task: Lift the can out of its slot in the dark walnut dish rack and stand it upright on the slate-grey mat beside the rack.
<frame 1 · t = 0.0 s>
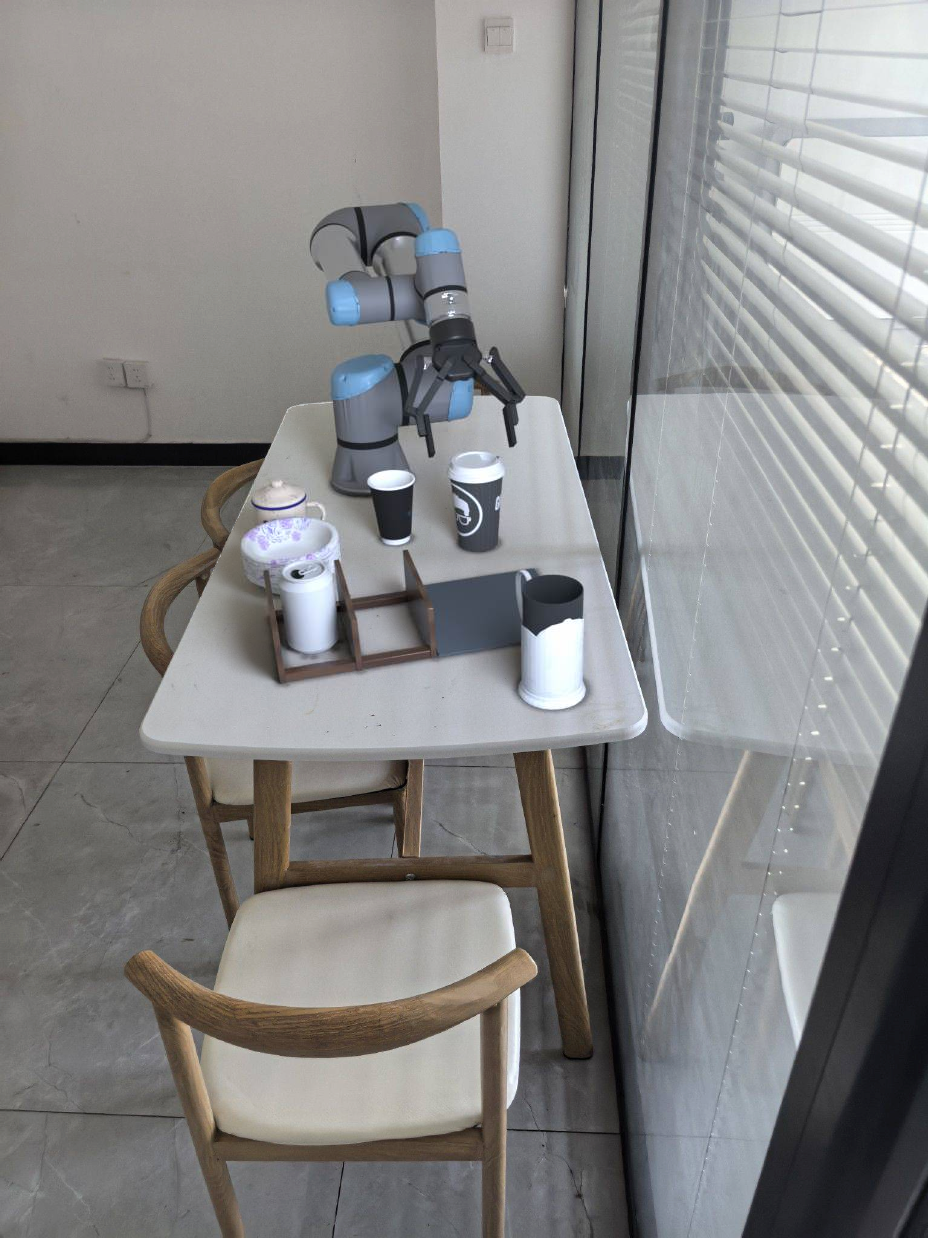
hand: (472, 450, 157), 15 cm above the table, tool tilted 35°, fingers open, 13 cm apart
coffee cup: (478, 544, 162), on the table
rack: (350, 636, 138), on the table
can: (314, 643, 137), resting in rack
teacup with lid: (294, 543, 165), on the table
glass holder: (542, 679, 128), on the table
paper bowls: (296, 582, 153), on the table
dixie cup: (396, 539, 165), on the table
mat: (489, 610, 143), on the table
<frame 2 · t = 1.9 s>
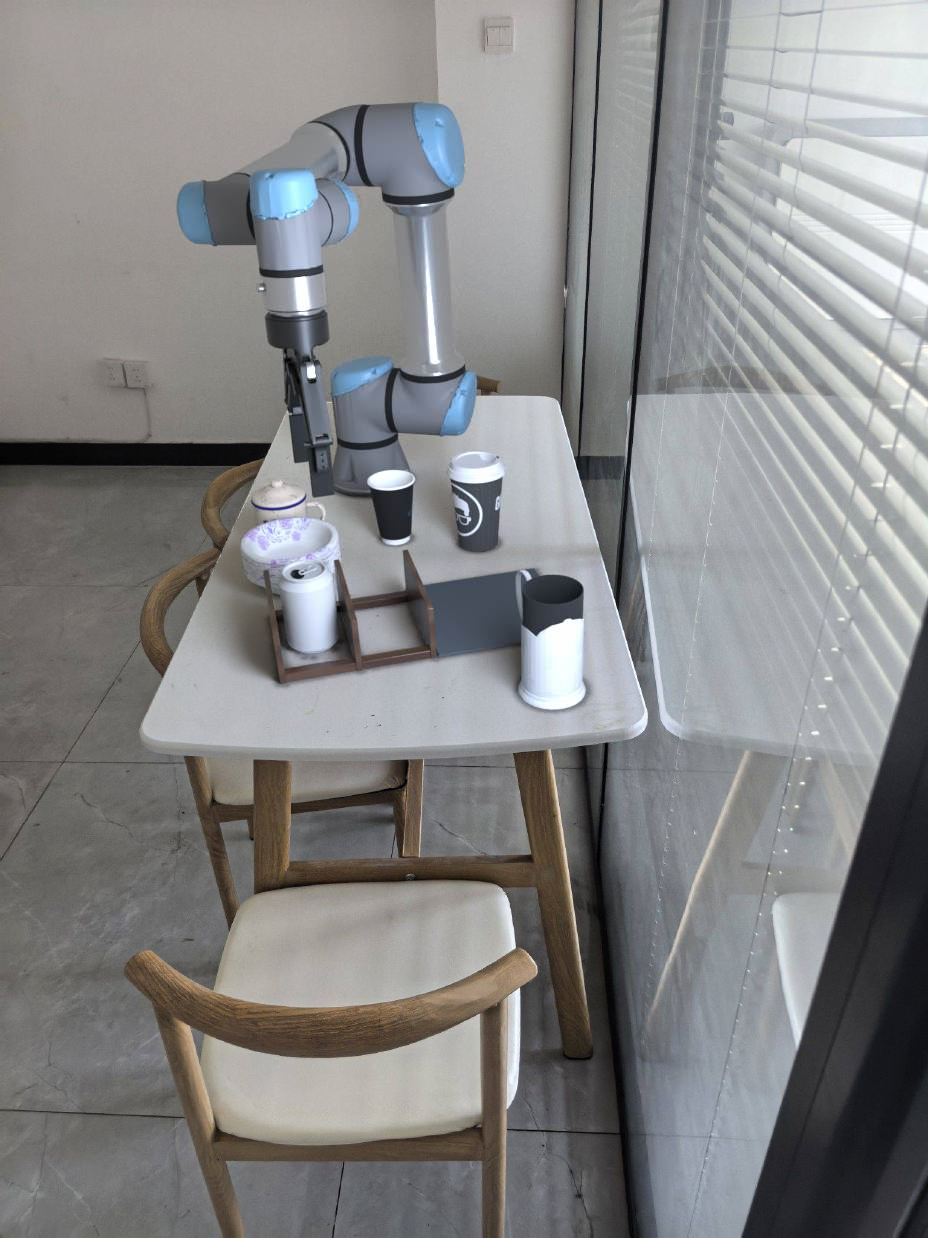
hand: (313, 477, 126), 24 cm above the table, tool pointing down, fingers open, 13 cm apart
nothing on the table moved.
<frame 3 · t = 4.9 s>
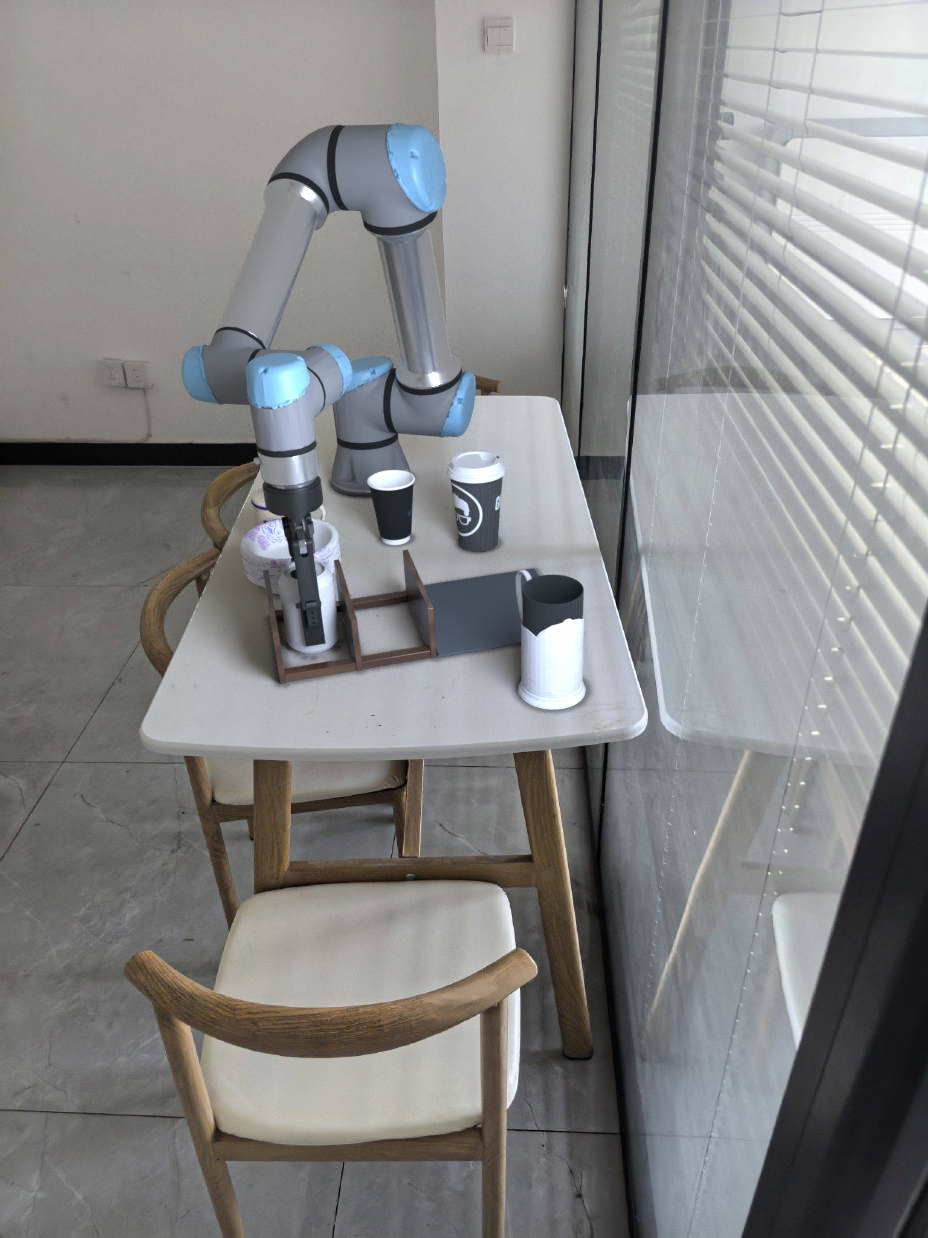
hand: (312, 628, 136), 2 cm above the table, tool pointing down, fingers closed on can, 7 cm apart
can: (314, 643, 137), resting in rack, touching gripper
everything else where it was.
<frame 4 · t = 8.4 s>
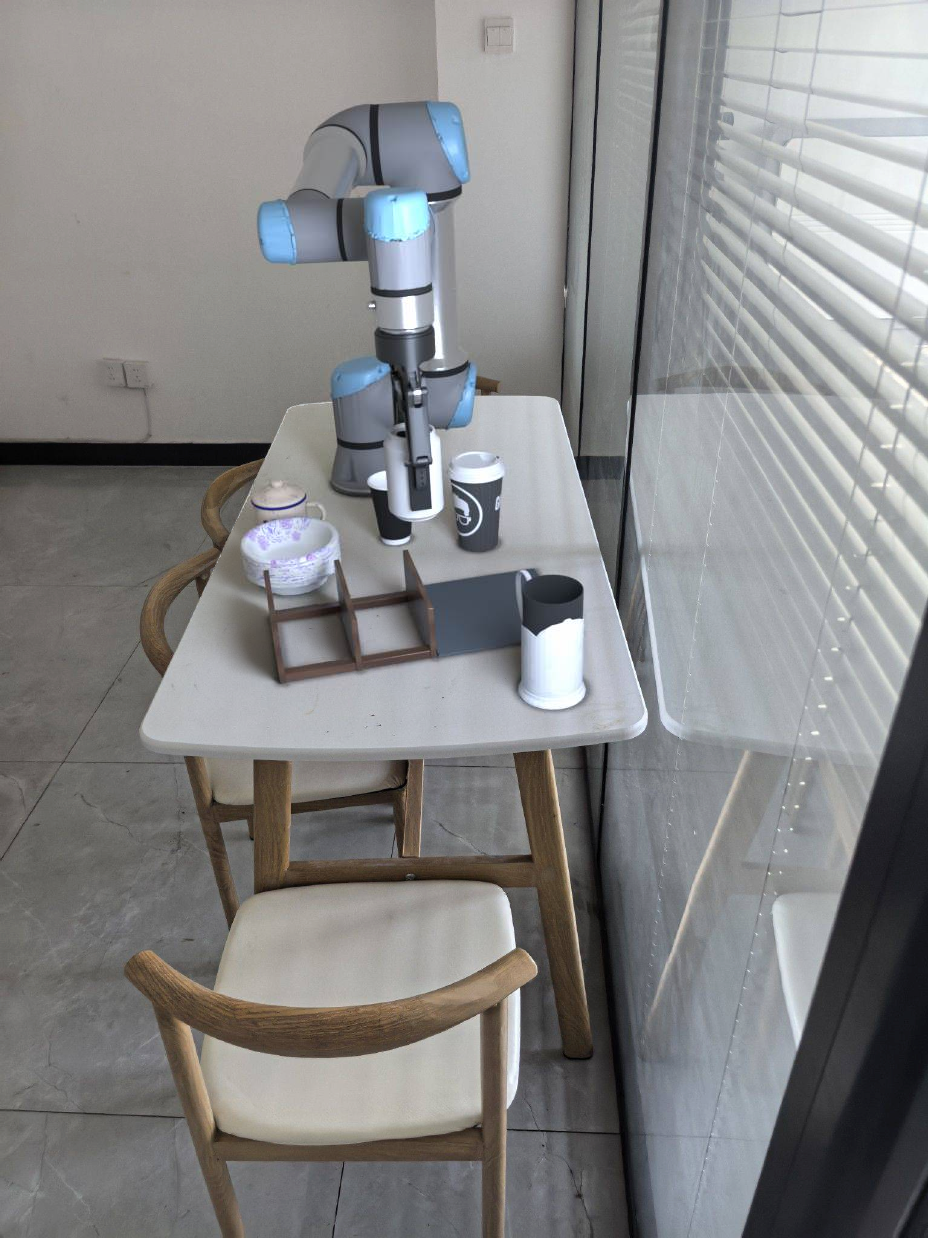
hand: (415, 496, 131), 20 cm above the table, tool pointing down, fingers closed on can, 7 cm apart
can: (416, 513, 132), point 17 cm above the table, touching gripper
everything else where it was.
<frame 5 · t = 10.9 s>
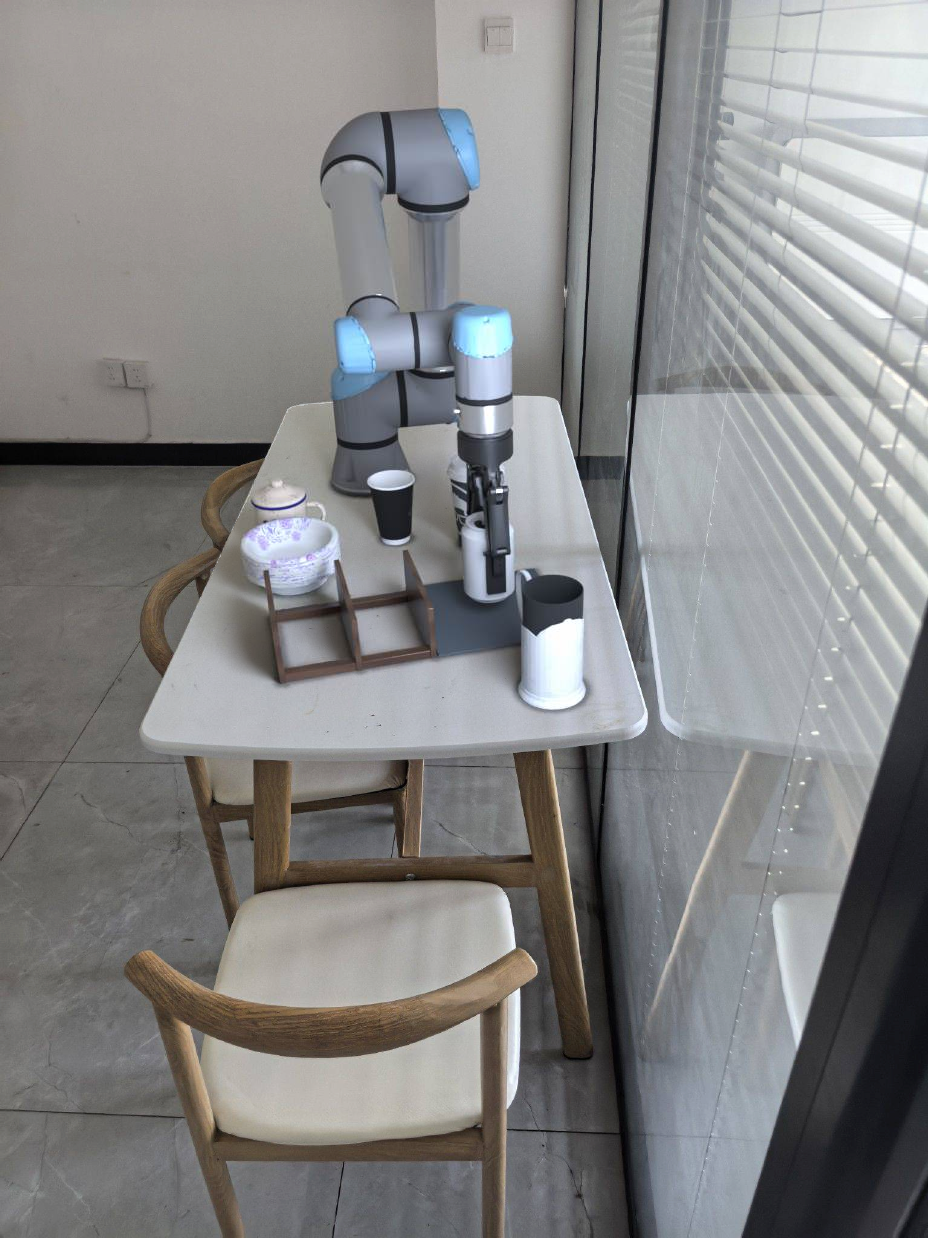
hand: (489, 579, 140), 5 cm above the table, tool pointing down, fingers closed on can, 7 cm apart
can: (489, 594, 141), point 3 cm above the table, touching gripper
everything else where it was.
when the fingers open (3 cm above the table, at t = 12.2 s): can stays where it is, resting on mat.
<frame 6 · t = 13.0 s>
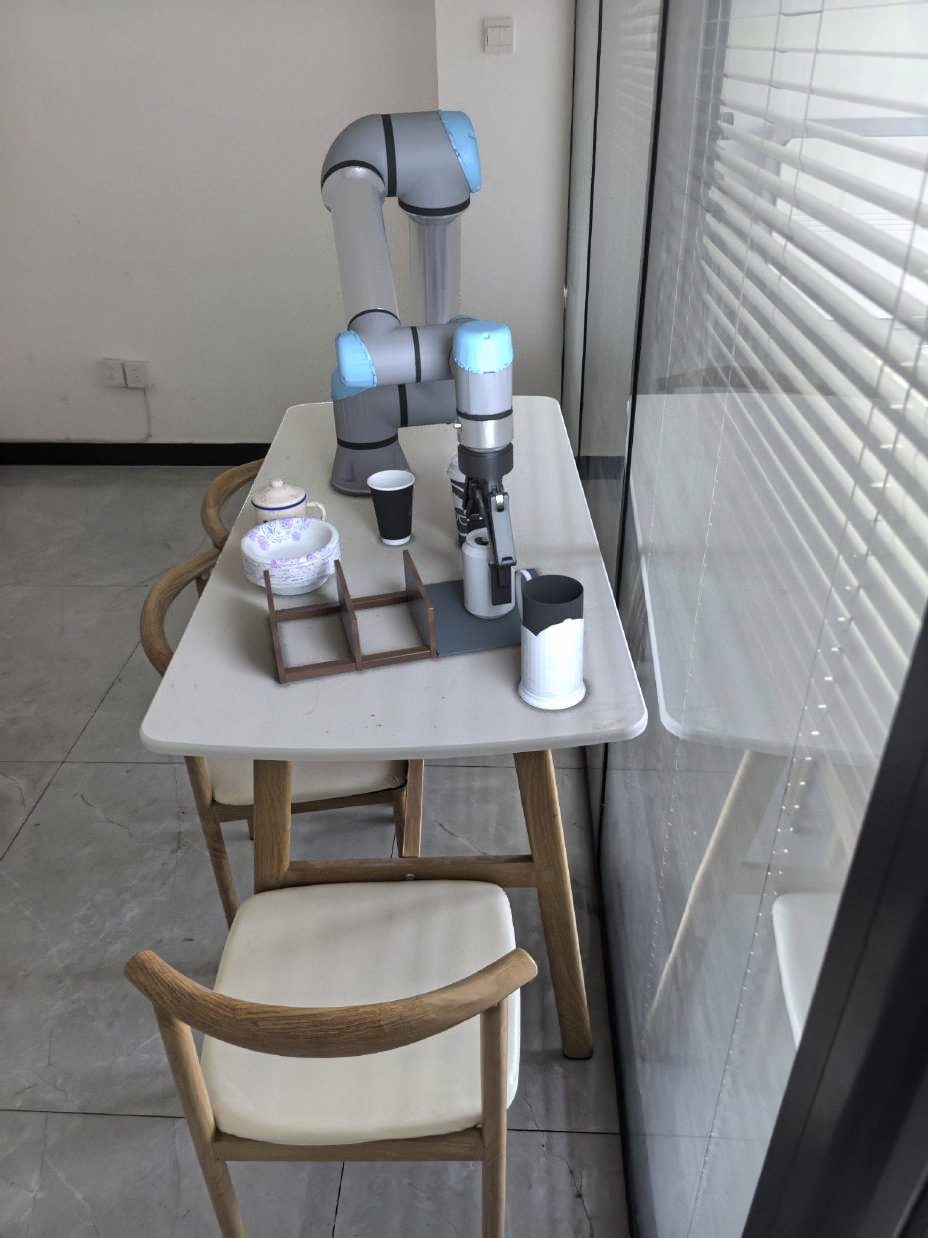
hand: (488, 580, 140), 5 cm above the table, tool pointing down, fingers open, 13 cm apart
can: (489, 609, 143), resting on mat
everything else where it was.
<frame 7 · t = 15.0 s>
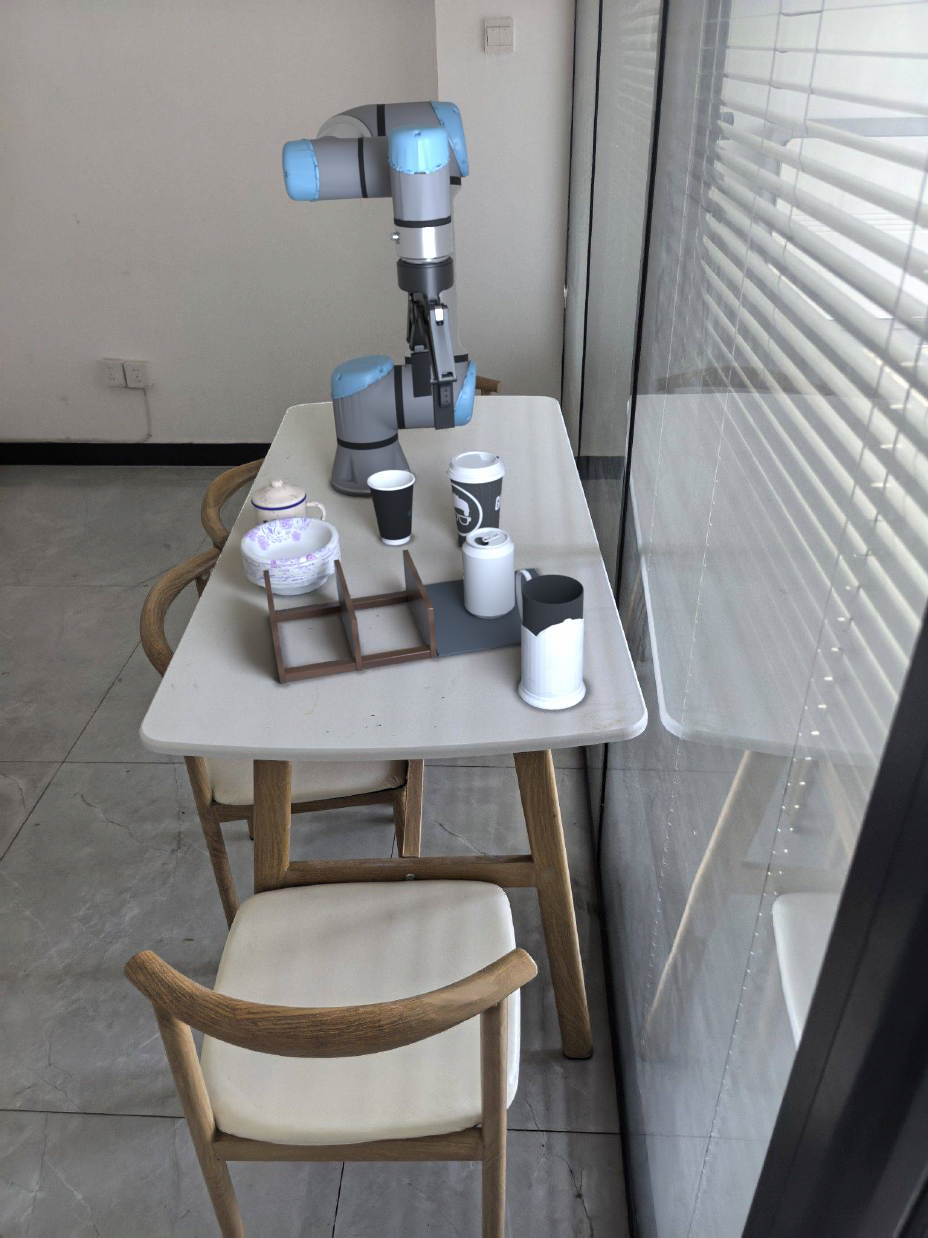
hand: (433, 411, 138), 27 cm above the table, tool pointing down, fingers open, 13 cm apart
nothing on the table moved.
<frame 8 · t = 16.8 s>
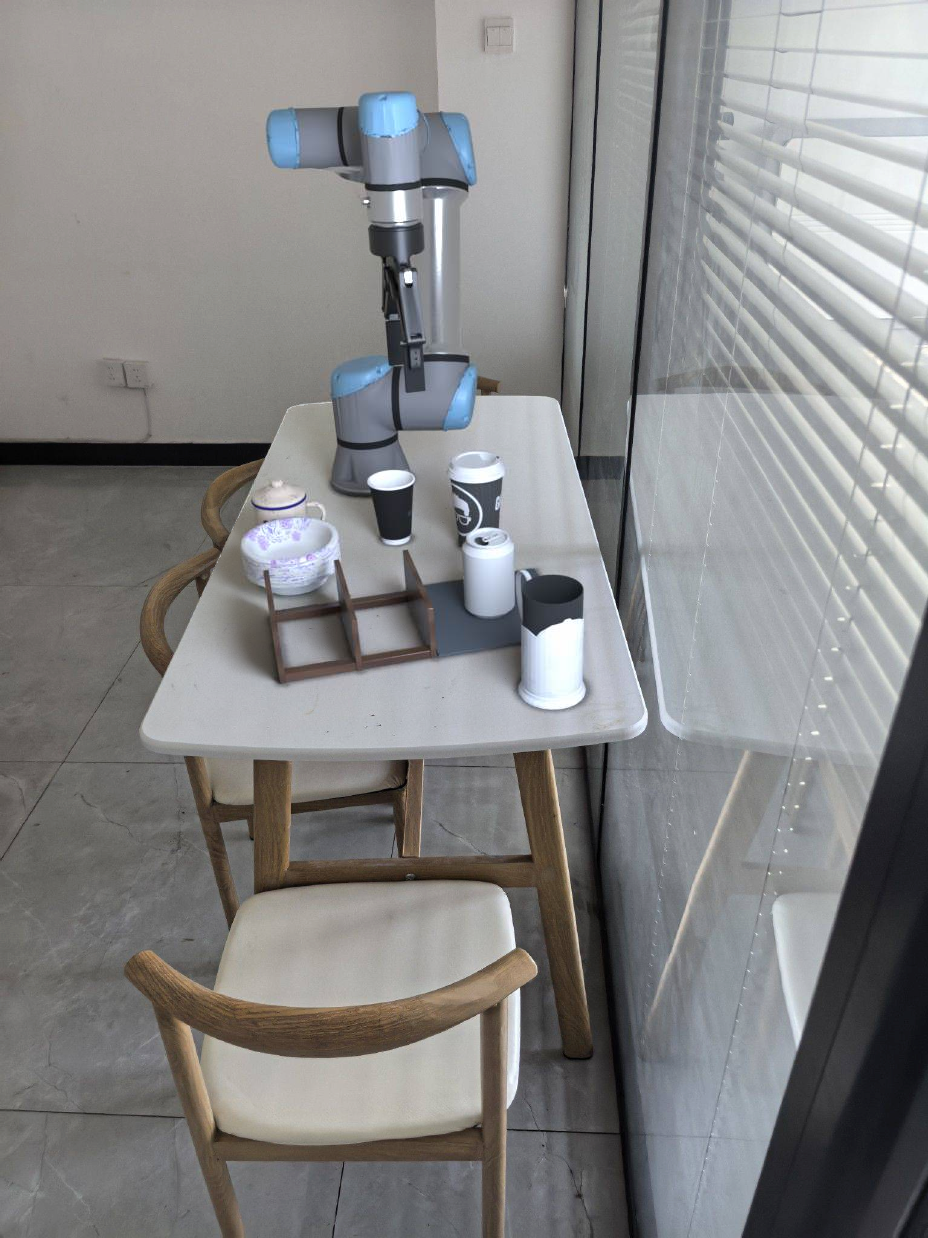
hand: (406, 377, 141), 31 cm above the table, tool pointing down, fingers open, 13 cm apart
nothing on the table moved.
at the end: can inside the target area (0.0 cm from its centre), resting on mat; can tilted 0°; the gripper is holding nothing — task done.
